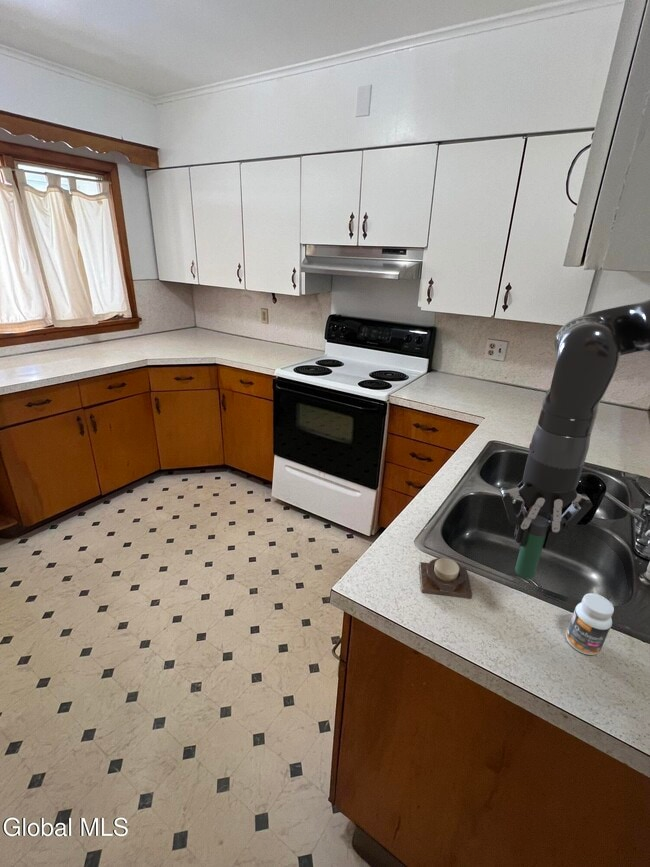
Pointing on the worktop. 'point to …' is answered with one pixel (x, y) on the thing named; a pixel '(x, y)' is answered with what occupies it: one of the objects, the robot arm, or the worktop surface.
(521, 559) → the cylinder
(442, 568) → the dot pad
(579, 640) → the pill bottle
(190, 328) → the worktop surface
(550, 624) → the worktop surface
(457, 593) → the tealight candle holder
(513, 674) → the worktop surface
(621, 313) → the robot arm
